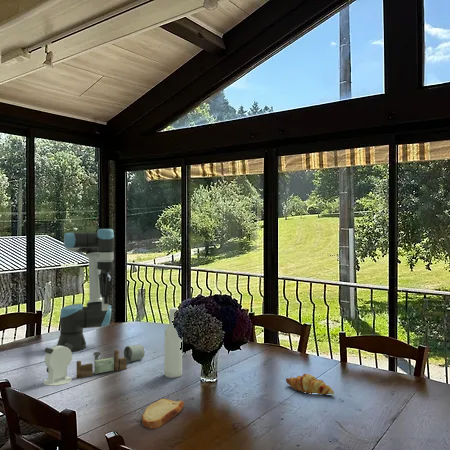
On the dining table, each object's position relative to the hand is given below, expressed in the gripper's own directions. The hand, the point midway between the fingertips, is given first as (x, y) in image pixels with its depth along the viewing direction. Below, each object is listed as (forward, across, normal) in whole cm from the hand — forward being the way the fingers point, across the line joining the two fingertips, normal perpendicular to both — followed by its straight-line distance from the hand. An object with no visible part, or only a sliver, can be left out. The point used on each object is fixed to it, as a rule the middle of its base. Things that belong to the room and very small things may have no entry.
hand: (105, 310), depth 212 cm
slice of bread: (+27, +65, -1) cm, 70 cm away
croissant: (+27, +78, +58) cm, 101 cm away
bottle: (+27, +30, +21) cm, 45 cm away
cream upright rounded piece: (+27, +9, -24) cm, 37 cm away
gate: (+26, +10, -4) cm, 28 cm away
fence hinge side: (+26, +10, +4) cm, 28 cm away
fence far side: (+26, +10, -12) cm, 31 cm away
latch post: (+26, +8, -6) cm, 28 cm away
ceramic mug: (+27, -1, +14) cm, 30 cm away
